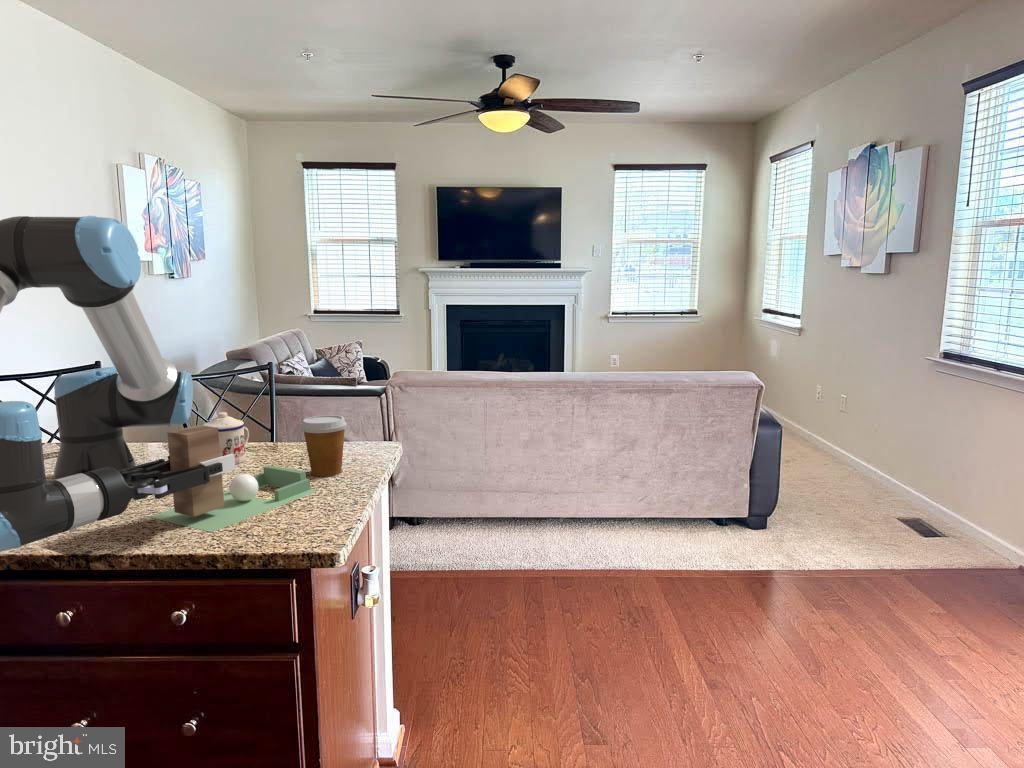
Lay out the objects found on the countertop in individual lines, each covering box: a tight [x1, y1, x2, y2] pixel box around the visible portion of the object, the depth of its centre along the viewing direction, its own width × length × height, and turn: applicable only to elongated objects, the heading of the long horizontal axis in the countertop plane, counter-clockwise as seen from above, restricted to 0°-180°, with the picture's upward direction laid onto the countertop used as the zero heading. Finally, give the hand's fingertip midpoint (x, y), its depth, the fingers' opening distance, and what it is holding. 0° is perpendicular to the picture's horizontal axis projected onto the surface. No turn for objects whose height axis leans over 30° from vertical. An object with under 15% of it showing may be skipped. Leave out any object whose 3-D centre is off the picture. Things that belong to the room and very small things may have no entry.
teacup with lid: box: [202, 411, 250, 465], centre depth 159 cm, size 12×9×12 cm
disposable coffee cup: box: [300, 414, 347, 477], centre depth 147 cm, size 10×10×12 cm
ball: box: [228, 473, 259, 501], centre depth 125 cm, size 5×5×5 cm
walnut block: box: [167, 424, 224, 517], centre depth 116 cm, size 5×6×14 cm
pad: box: [149, 465, 318, 533], centre depth 124 cm, size 16×24×5 cm, turn 152°
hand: (222, 459), depth 120 cm, fingers closed on walnut block, 5 cm apart
